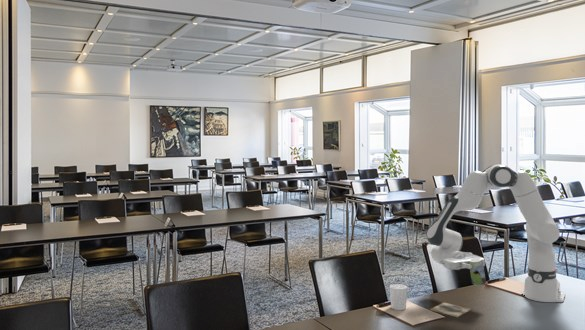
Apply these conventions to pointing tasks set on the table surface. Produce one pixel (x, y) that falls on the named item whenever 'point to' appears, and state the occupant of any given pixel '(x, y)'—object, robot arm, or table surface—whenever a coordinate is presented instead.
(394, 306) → the white cup
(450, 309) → the birch mat
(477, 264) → the beverage can
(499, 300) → the table surface
